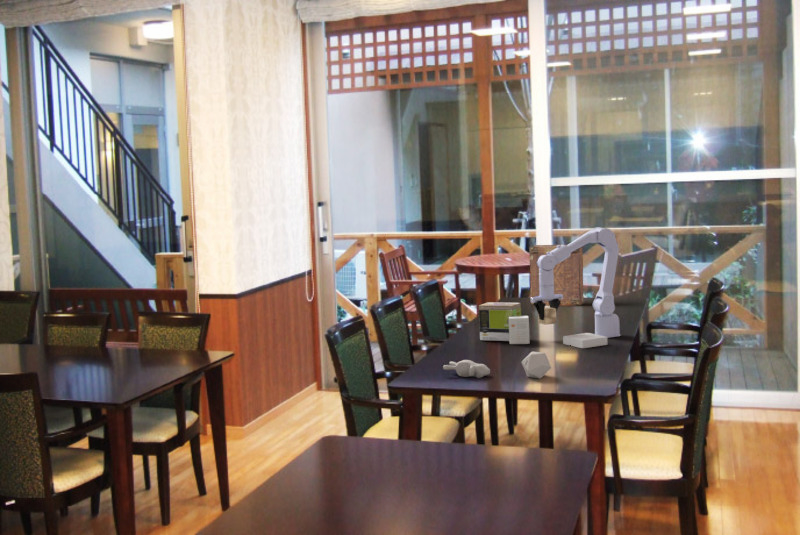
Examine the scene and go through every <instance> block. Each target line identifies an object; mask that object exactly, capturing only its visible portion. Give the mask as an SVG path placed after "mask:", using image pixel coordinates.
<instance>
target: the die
mask: <svg viewBox="0 0 800 535" xmlns="http://www.w3.org/2000/svg"><path fill="white" fill-rule="evenodd" d="M521 365H522V367H523V369H524V371H525V374H526V377H528V378H533V379H534V378H535V379H541V378H543V377H544V376H545V375H546V374H547V373H548V372H549V371H550V370H551V369H552V366H551V364H550V361H549V359H548V356H547V353H546V352H540V351H531V352H530V353H529V354H528V355H527V356H525V357H524V359H523V360H522V361H521Z"/></svg>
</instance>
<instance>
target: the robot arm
mask: <svg viewBox="0 0 800 535" xmlns="http://www.w3.org/2000/svg"><path fill="white" fill-rule="evenodd" d="M588 244H597V245H599V246H600V248H601V249H603V251H604V258H603V263H602V270H601V276H600V277H601V278H600V282H599V289H598V291H597V293H596V295H595V298H594V300H593V302H592V307H593V308H592V309H593V310H594V311H595V312H594V334H596V335H601V336H605V337H607V339H609V338H615V337H620V336H622V334H620V333H621V332H620V331H621V330H620V318H619V316H618V315H617V314H616V313H614V311H615V310H616V305H615V296H614V293H613V290H614V284H615V277H616V271H617V265H618V260H619V252H620V247H619V245H618V242H617V239H616V234H615V233H614V232H613V231H612V230H611V229H610V228H606V227H605V228H603V227H599V226H596V227H594V228H593V229H589V230H588V231H586V232H585V233H583V234H582V235H580V236H579V237H577V238H576V239H575V240H574V239H573V241H571V242H570V243H568V244H557V245H558V246H556V247H557V248H556V249H554V250H552V251H551V252H547V255H542V256H540V257H539V259H538V261H537V266H538V267H539V290H540V295H539V296H537V297H532V298H531V297H530V304H531V303H533V304H534V305H533V306H534V307H535V310H536V312H537V314H538V320H539V319H540V320H544V309H545V308H546V306H545V303H543V302H542V301H549V305H550V306H549V307H550V308H556V314H557V312H558V309H559V307H560V306H559V305H560V303H561V301H560V300H559V299H563V294H555V295H554V275H553V268H554V267H555V265H557V264H558V263H560V262H562V261H563V260H565V259H567V258H568V257H570V254H571V252H573V251H574V250H576V249H578V248H580V247H582V246H585V245H588ZM560 245H561V246H560ZM566 245H567V246H566ZM544 299H546V300H544Z"/></svg>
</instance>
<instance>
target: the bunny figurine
mask: <svg viewBox="0 0 800 535" xmlns="http://www.w3.org/2000/svg"><path fill="white" fill-rule="evenodd" d="M442 370H453V371H454V370H455V372H456V374H457V375H458V376H459V377H462V378H463V377H464V378H467V377H468V378H469V377H475V378H476V377H477V378H476V379H480V378H483V377H485V376H488V375H489V374H490V373H491V369H490V368H489V367H488V366H487V365H486V364H483V363H478V362H474V361H473V360H470V359H463V360H461V361H458V362H456V361H449V363H448V364H444V365H443V366H442Z"/></svg>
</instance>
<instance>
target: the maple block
mask: <svg viewBox="0 0 800 535" xmlns="http://www.w3.org/2000/svg"><path fill="white" fill-rule="evenodd" d="M538 324H541V325H546V326H547V325H554V324H557V313H556V308H550V306H547V307H546V306H545V309H544V320H540V319H539V318H538Z"/></svg>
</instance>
